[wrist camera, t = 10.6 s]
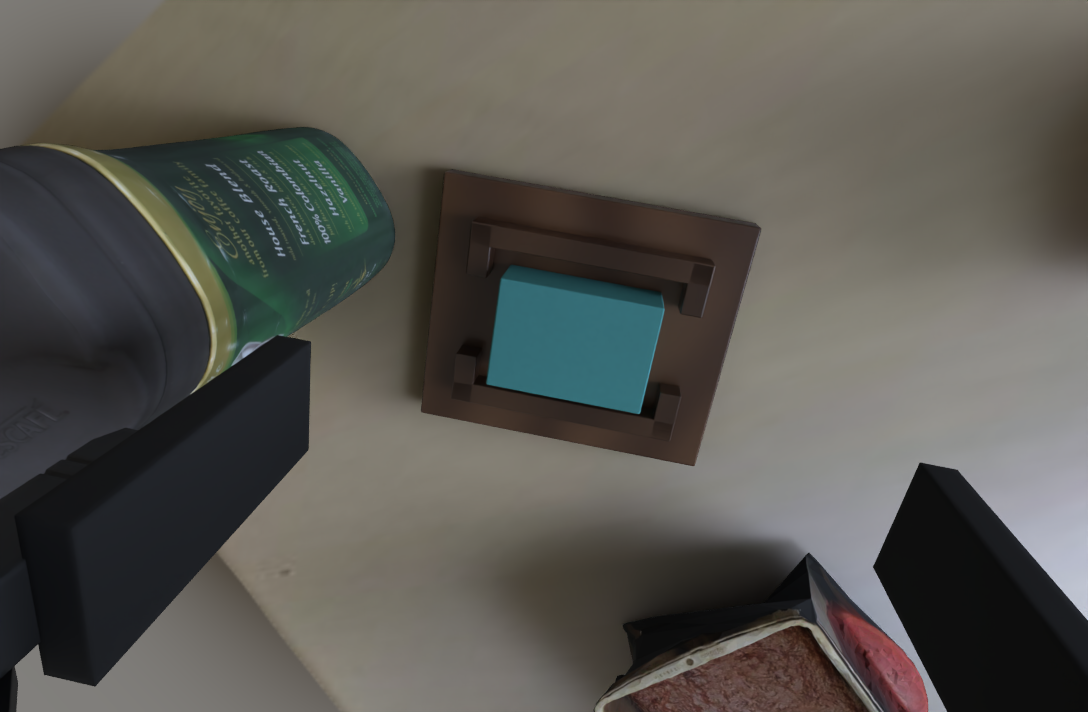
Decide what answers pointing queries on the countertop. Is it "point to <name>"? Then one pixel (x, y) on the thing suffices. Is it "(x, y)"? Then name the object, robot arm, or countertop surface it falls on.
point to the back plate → (594, 253)
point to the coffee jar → (164, 273)
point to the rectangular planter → (768, 657)
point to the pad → (574, 338)
